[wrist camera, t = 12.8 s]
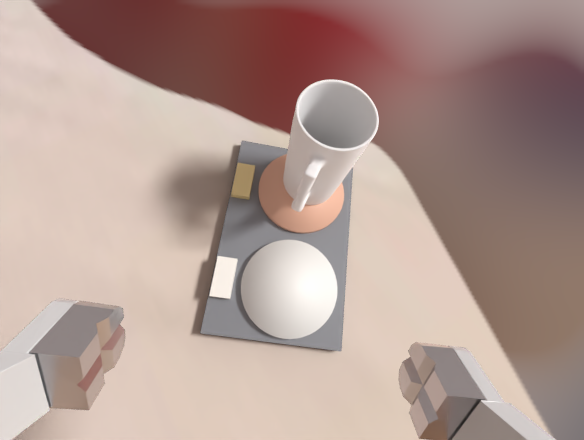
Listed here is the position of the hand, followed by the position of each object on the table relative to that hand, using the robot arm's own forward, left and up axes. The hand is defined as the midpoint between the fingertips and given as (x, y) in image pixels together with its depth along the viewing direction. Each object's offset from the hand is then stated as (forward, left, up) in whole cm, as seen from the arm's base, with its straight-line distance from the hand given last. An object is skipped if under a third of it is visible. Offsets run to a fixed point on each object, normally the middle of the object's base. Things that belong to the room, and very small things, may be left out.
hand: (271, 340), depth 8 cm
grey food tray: (+2, +10, -23) cm, 25 cm away
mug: (+3, +15, -22) cm, 27 cm away
